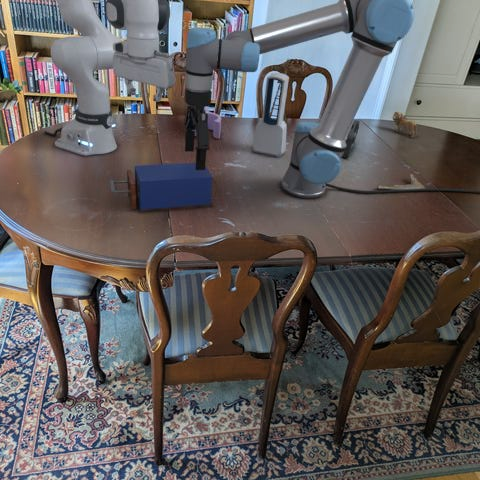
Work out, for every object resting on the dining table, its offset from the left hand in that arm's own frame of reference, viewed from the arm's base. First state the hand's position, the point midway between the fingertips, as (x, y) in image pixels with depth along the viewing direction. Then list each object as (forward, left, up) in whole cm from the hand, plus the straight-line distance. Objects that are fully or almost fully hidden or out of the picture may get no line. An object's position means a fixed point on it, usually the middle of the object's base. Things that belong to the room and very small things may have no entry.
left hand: (144, 97), depth 137 cm
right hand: (+17, -2, -15) cm, 23 cm away
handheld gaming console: (+61, +68, -29) cm, 95 cm away
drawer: (+7, -9, -28) cm, 30 cm away
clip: (-1, +58, -29) cm, 65 cm away
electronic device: (+30, +48, -29) cm, 63 cm away
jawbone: (+80, +41, -29) cm, 95 cm away
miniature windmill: (+26, +80, -29) cm, 89 cm away
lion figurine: (+83, +104, -29) cm, 136 cm away
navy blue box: (+12, -6, -29) cm, 32 cm away
